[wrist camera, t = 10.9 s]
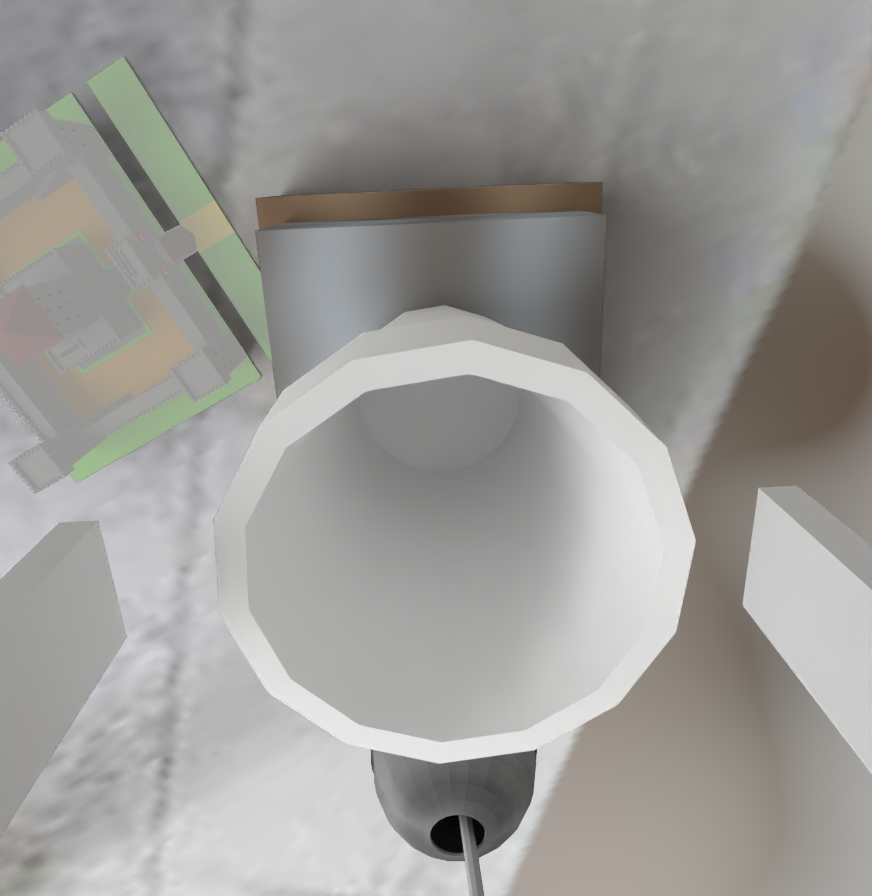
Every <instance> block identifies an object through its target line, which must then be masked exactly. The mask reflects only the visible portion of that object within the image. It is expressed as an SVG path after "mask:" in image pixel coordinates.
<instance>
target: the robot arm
mask: <svg viewBox="0 0 872 896" xmlns="http://www.w3.org/2000/svg"><path fill="white" fill-rule="evenodd" d="M743 606H744V608H745V609H746V610H747V612H748V613H749V614H750V616H751V617H752V618H753V620H754V621H755V622H756V623H757V625H758V626H759V627H760V628H761V630H762V631H763V633H764V634H765V635H766V637H767V638H768V639H769V640H770V642H771V643H772V644H773V646H774V647H775V648H776V649H777V651H778V652H779V654H780V655H781V656H782V657H783V659H784V660H785V661H786V663H787V664H788V665H789V667H790V668H791V669H792V671H793V672H794V673H795V675H796V676H797V677H798V678H799V680H800V681H801V682H802V683H803V685H804V686H805V688H806V689H807V690H808V691H809V693H810V694H811V695H812V697H813V698H814V699H815V700H816V702H817V703H818V705H819V706H820V707H821V708H822V710H823V711H824V712H825V714H826V715H827V716H828V718H829V719H830V720H831V722H832V723H833V724H834V725H835V727H836V728H837V729H838V731H839V732H840V733H841V735H842V736H843V737H844V739H845V740H846V741H847V743H848V744H849V745H850V746H851V748H852V749H853V750H854V752H855V753H856V754H857V756H858V757H859V758H860V760H861V761H862V762H863V764H864V765H865V766H866V767H867V769H868V770H869V771H870V773H871V774H872V546H871V545H870V544H868V543H867V542H866V541H865V540H863V539H862V538H861V537H860V536H858V535H857V534H856V533H855V532H853V531H852V530H851V529H850V528H848V527H847V526H846V525H845V524H844V523H842V522H841V521H840V520H839V519H837V518H836V517H835V516H834V515H832V514H831V513H830V512H829V511H827V510H826V509H825V508H824V507H822V506H821V505H820V504H819V503H818V502H816V501H815V500H814V499H813V498H811V497H810V496H809V495H808V494H806V493H805V492H804V491H803V490H801V489H800V488H799V487H798V486H783V487H763V488H759V489H758V496H757V504H756V511H755V519H754V525H753V532H752V540H751V547H750V554H749V561H748V569H747V576H746V583H745V590H744V598H743ZM126 637H127V635H126V631H125V627H124V623H123V619H122V615H121V611H120V607H119V603H118V599H117V595H116V590H115V586H114V582H113V578H112V574H111V570H110V566H109V562H108V558H107V554H106V550H105V546H104V542H103V538H102V534H101V529H100V525H99V521H85V522H65V523H59V524H58V525H57V526H56V527H55V528H54V529H53V530H52V531H50V532H49V533H48V534H47V535H46V536H45V537H44V538H43V539H42V540H41V541H40V542H39V543H38V544H37V545H36V546H35V547H34V548H33V549H32V550H31V551H30V552H29V553H28V554H27V555H26V556H25V557H24V558H22V559H21V560H20V561H19V562H18V563H17V564H16V565H15V566H14V567H13V568H12V569H11V570H10V571H9V572H8V573H7V574H6V575H5V576H4V577H3V578H2V579H1V580H0V837H1V836H2V834H3V832H4V831H5V829H6V828H7V826H8V824H9V823H10V821H11V820H12V818H13V816H14V815H15V813H16V812H17V810H18V809H19V807H20V805H21V804H22V802H23V801H24V799H25V797H26V796H27V794H28V793H29V791H30V790H31V788H32V786H33V785H34V783H35V782H36V780H37V778H38V777H39V775H40V774H41V772H42V771H43V769H44V767H45V766H46V764H47V763H48V761H49V759H50V758H51V756H52V755H53V753H54V752H55V750H56V748H57V747H58V745H59V744H60V742H61V740H62V739H63V737H64V736H65V734H66V733H67V731H68V729H69V728H70V726H71V725H72V723H73V721H74V720H75V718H76V717H77V715H78V714H79V712H80V710H81V709H82V707H83V706H84V704H85V702H86V701H87V699H88V698H89V696H90V695H91V693H92V691H93V690H94V688H95V687H96V685H97V683H98V682H99V680H100V679H101V677H102V676H103V674H104V672H105V671H106V669H107V668H108V666H109V664H110V663H111V661H112V660H113V658H114V657H115V655H116V653H117V652H118V650H119V649H120V647H121V645H122V644H123V642H124V641H125V639H126Z"/></svg>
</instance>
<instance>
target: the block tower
mask: <svg viewBox="0 0 872 896" xmlns="http://www.w3.org/2000/svg"><path fill="white" fill-rule="evenodd" d="M256 206H257V214H258V221H259V229H260V230H257V231H255V234H256V242H257V250H258V257H259V265H260V273H261V280H262V288H263V296H264V303H265V311H266V319H267V326H268V334H269V342H270V349H271V357H272V365H273V372H274V380H275V388H276V395H277V399H278V397H279V396H280V394H281V393H282V391H283V390H284V389H286V388H287V387H288V386H290V385H291V384H293V383H294V382H295V381H297V380H298V379H299V378H301V377H302V376H304V375H305V374H306V373H308V372H309V371H311V370H312V369H313V368H315V367H316V366H317V365H319V364H320V363H322V362H323V361H324V360H326V359H327V358H329V357H330V356H331V355H333V354H334V353H335V352H337V351H338V350H340V349H341V348H342V347H344V346H345V345H347V344H348V343H349V342H351V341H352V340H353V339H355V338H356V337H358V336H359V335H360V334H362V333H363V332H369V331H375V330H380V329H382V328H383V327H385V326H386V325H387V324H389V323H390V322H392V321H393V320H394V319H396V318H397V317H398V316H400V315H401V314H403V313H404V312H407V311H413V310H419V309H425V308H431V307H437V306H442V305H446V306H450V307H453V308H457V309H460V310H463V311H467V312H470V313H474V314H477V315H481V316H484V317H487V318H489V319H491V320H493V321H495V322H497V323H499V324H501V325H503V326H505V327H508V328H511V329H515V330H518V331H522V332H525V333H528V334H532V335H535V336H539V337H542V338H546V339H549V340H553V341H556V342H560V343H563V344H564V345H565V346H566V347H567V348H568V349H569V350H570V351H571V352H572V353H573V354H574V355H575V356H576V357H577V358H579V359H580V360H581V361H582V362H583V363H584V364H585V365H586V366H587V367H588V368H589V369H590V370H591V371H592V372H593V373H594V374H596V375H597V376H598V377H599V378H600V358H601V335H602V312H603V289H604V265H605V242H606V219H607V215H604V214H601V207H602V182H570V183H548V184H526V185H504V186H482V187H461V188H439V189H417V190H395V191H373V192H352V193H330V194H308V195H286V196H272V197H262V198H256Z"/></svg>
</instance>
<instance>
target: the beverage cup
mask: <svg viewBox="0 0 872 896" xmlns="http://www.w3.org/2000/svg"><path fill="white" fill-rule="evenodd" d="M536 754H537V749H536V750H532V751H525V752H518V753H511V754H504V755H497V756H490V757H483V758H476V759H469V760H462V761H455V762H448V763H441V764H438V763H434V762H429V761H424V760H419V759H415V758H410V757H405V756H400V755H395V754H391V753H386V752H381V751H376V750H372V749H371V765H372V770H373V773H374V783H375V788H376V793H377V796H378V798H379V801H380V803H381V806H382V808H383V810H384V812H385V815H386V817H387V819H388V821H389V823H390V824H391V826H392V827H393V829H394V830H395V831H396V832H397V833H398V834H399V835H400V836H401V837H402V838H403V839H404V840H405V841H406V842H407V843H408V844H409V845H411V846H412V847H413V848H415V849H417V850H419V851H421V852H422V853H424V854H426V855H428V856H430V857H433V858H437V859H441V860H446V861H465V865H466V872H467V879H468V886H469V894H470V896H484V891H483V885H482V878H481V872H480V865H479V859H478V858H479V857H481V856H483V855H485V854H487V853H489V852H491V851H493V850H495V849H497V848H498V847H500V846H501V845H502V844H503V843H504V842H505V841H506V840H507V839H508V838H509V837H510V836H511V835H512V834H513V833H514V832H515V831H516V830H517V828H518V826H519V824H520V823H521V821H522V819H523V817H524V815H525V813H526V811H527V809H528V807H529V805H530V803H531V800H532V796H533V790H534V779H535V768H536Z"/></svg>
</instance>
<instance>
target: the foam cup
mask: <svg viewBox="0 0 872 896" xmlns="http://www.w3.org/2000/svg"><path fill="white" fill-rule="evenodd" d="M213 524H214V540H215V556H216V572H217V588H218V603H219V615H220V616H221V618H222V620H223V621H224V623H225V624H226V626H227V628H228V629H229V631H230V632H231V634H232V636H233V637H234V639H235V640H236V642H237V644H238V645H239V647H240V648H241V650H242V652H243V653H244V655H245V656H246V658H247V660H248V661H249V663H250V664H251V666H252V668H253V669H254V671H255V673H256V674H257V676H258V677H259V679H260V681H261V682H262V684H263V685H264V687H265V689H266V690H267V692H268V693H269V694H271V695H272V696H274V697H275V698H277V699H278V700H280V701H281V702H283V703H284V704H286V705H288V706H289V707H291V708H292V709H294V710H295V711H297V712H298V713H300V714H301V715H303V716H304V717H306V718H307V719H309V720H310V721H312V722H313V723H315V724H316V725H318V726H319V727H321V728H322V729H324V730H326V731H327V732H329V733H330V734H332V735H333V736H335V737H336V738H338V739H339V740H341V741H342V742H344V743H345V744H348V745H353V746H357V747H362V748H367V749H372V750H376V751H381V752H386V753H391V754H395V755H400V756H405V757H410V758H415V759H419V760H424V761H429V762H434V763H438V764H441V763H448V762H455V761H462V760H469V759H476V758H483V757H490V756H497V755H504V754H511V753H518V752H525V751H532V750H536V749H537V748H539V747H541V746H543V745H545V744H547V743H548V742H550V741H552V740H554V739H556V738H558V737H559V736H561V735H563V734H565V733H567V732H569V731H571V730H572V729H574V728H576V727H578V726H580V725H582V724H583V723H585V722H587V721H589V720H591V719H593V718H594V717H596V716H598V715H600V714H602V713H603V712H605V711H607V710H609V709H611V708H613V707H615V706H616V705H618V704H619V703H620V701H621V700H622V699H623V697H624V696H625V695H626V694H627V693H628V691H629V690H630V689H631V687H632V686H633V685H634V684H635V683H636V681H637V680H638V679H639V678H640V676H641V675H642V674H643V673H644V671H645V670H646V669H647V668H648V666H649V665H650V664H651V663H652V661H653V660H654V659H655V658H656V656H657V655H658V654H659V653H660V651H661V650H662V649H663V647H664V646H665V645H666V644H667V643H668V642H669V640H670V639H671V638H672V637H673V635H674V634H675V633H676V630H677V625H678V621H679V616H680V612H681V607H682V603H683V598H684V593H685V588H686V584H687V580H688V575H689V570H690V566H691V561H692V557H693V552H694V547H695V543H696V539H695V537H694V533H693V530H692V527H691V523H690V520H689V517H688V514H687V511H686V507H685V504H684V501H683V498H682V494H681V491H680V488H679V485H678V482H677V478H676V475H675V472H674V469H673V466H672V462H671V459H670V456H669V453H668V449H667V447H666V446H665V445H664V443H663V442H662V441H661V440H660V439H659V438H658V437H657V436H656V435H655V434H654V432H653V431H652V430H651V429H650V428H649V427H648V426H647V425H646V424H645V423H644V422H643V420H642V419H641V418H640V417H639V416H638V415H637V414H636V413H635V412H634V411H633V410H632V408H631V407H630V406H628V405H627V404H626V403H625V402H624V401H623V400H622V399H621V398H620V397H619V396H618V395H617V394H616V393H615V392H614V391H613V390H611V389H610V388H609V387H608V386H607V385H606V384H605V383H604V382H603V381H602V380H601V379H600V378H599V377H598V376H597V375H596V374H594V373H593V372H592V371H591V370H590V369H589V368H588V367H587V366H586V365H585V364H584V363H583V362H582V361H581V360H580V359H579V358H577V357H576V356H575V355H574V354H573V353H572V352H571V351H570V350H569V349H568V348H567V347H566V346H565V345H564V344H563V343H560V342H556V341H553V340H549V339H546V338H542V337H539V336H535V335H532V334H528V333H525V332H522V331H518V330H515V329H511V328H508V327H505V326H503V325H501V324H499V323H497V322H495V321H493V320H491V319H489V318H487V317H484V316H481V315H477V314H474V313H470V312H467V311H463V310H460V309H457V308H453V307H450V306H446V305H442V306H437V307H431V308H425V309H419V310H413V311H407V312H404V313H403V314H401V315H400V316H398V317H397V318H396V319H394V320H393V321H392V322H390V323H389V324H387V325H386V326H385V327H383V328H382V329H380V330H375V331H369V332H363V333H362V334H360V335H359V336H358V337H356V338H355V339H353V340H352V341H351V342H349V343H348V344H347V345H345V346H344V347H342V348H341V349H340V350H338V351H337V352H335V353H334V354H333V355H331V356H330V357H329V358H327V359H326V360H324V361H323V362H322V363H320V364H319V365H317V366H316V367H315V368H313V369H312V370H311V371H309V372H308V373H306V374H305V375H304V376H302V377H301V378H299V379H298V380H297V381H295V382H294V383H293V384H291V385H290V386H288V387H287V388H286V389H284V390H283V391H282V393H281V394H280V396H279V397H278V399H277V400H276V402H275V403H274V405H273V406H272V408H271V409H270V411H269V412H268V414H267V415H266V417H265V418H264V420H263V421H262V423H261V424H260V426H259V428H258V430H257V432H256V434H255V436H254V438H253V440H252V442H251V444H250V446H249V448H248V450H247V452H246V454H245V456H244V458H243V460H242V462H241V464H240V466H239V468H238V470H237V472H236V474H235V476H234V478H233V480H232V482H231V485H230V487H229V489H228V491H227V493H226V495H225V497H224V499H223V501H222V503H221V505H220V507H219V509H218V511H217V513H216V515H215V517H214V519H213Z"/></svg>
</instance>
